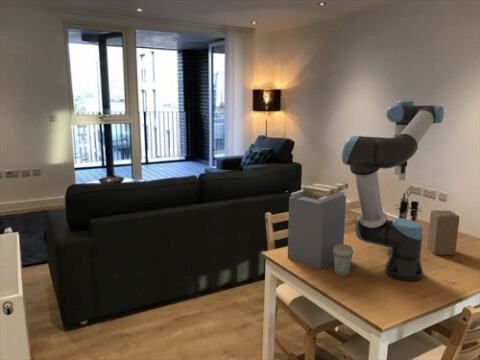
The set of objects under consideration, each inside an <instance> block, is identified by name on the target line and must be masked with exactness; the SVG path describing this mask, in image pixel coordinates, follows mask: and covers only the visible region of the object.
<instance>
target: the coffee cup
mask: <svg viewBox="0 0 480 360" xmlns="http://www.w3.org/2000/svg"><path fill="white" fill-rule="evenodd" d="M333 252H334V262H333V265H334V266H333V267H334V274H335V275H336V276H339V277H347V276H349V274H350V270H351V269H350V268H351V264H352V258H353V254H354V250H353V247H352V246H351V245H348V244H344V243H343V244H338V245H335V246H334V248H333Z"/></svg>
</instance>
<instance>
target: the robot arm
mask: <svg viewBox="0 0 480 360" xmlns="http://www.w3.org/2000/svg"><path fill="white" fill-rule="evenodd" d="M444 111H445V110H444V107H443V105H434V104H432V105H431V104H430V105H428V104H427V105H421V104H420V105H415V102H414V101H412V100H399V101H397V103H396V104H395V105H392V106H390V107H388V109H387V111H386V118H387V120H388V121H390V122H391V123H394V124H395V125H394V135H393V137H382V136H381V137H380V136H364V135H363V136H362V135H352V136H350V137H349V138H347V139H346V140H345V142H344V146H343V148H342V153H341V161H342V163H343V164H344V165H346V166H349V171H350V172H351V173H352V174H353V175H354V177H355V181H356V182H355V183H356V188H357V193H358V194H357V195H358V201H359V205H360V206H359V207H360V212H361V214H360V215H359V216H358V217H357V219H356V222H355V235H356V237H357V239H358V240H360V241H362V242H363V243H367V244H368V243H369V244H373V245H377V246H381V247H386V248H390V253H389V254H390V255H389V257H388V259H387V261H386V264H385V267H384V273H385V274H386V275H388V276H389V277H391V278H393V279H396V280H398V281H399V280H400V281H405V282H416V281H420V280H422V279H423V277H424V269H423V265H422V262H421V252H422V242H423V237H424V236H423V227H422V226H421V224H419V223H418V222H417V221H415V220H411V219H407V218H401V217H397V218H394V219H393V220H389V219H388V216H387V214H386V213H385V212H384V211H383V206H382V199H381V191H380V183H379V182H380V181H379V176H378V171H379V170H380V169H383V170H384V169H385V170H386V169H392V168H394V170H393V175H394V176H398V181H406V172H407V166H408V161H409V160H410V159H411V158H412V157H414V155H416V152H418V151H417V150H418V147H419V146H418V145H419V143H420V141H421V140H422V139H423V137H424V136H425V135H426V134H427V132H428V130H429V129H430V128H431V127H432V125H433V124H435V125H436V124H441V123H443V119H444V113H445V112H444Z"/></svg>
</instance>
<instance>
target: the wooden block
mask: <svg viewBox="0 0 480 360" xmlns="http://www.w3.org/2000/svg"><path fill="white" fill-rule="evenodd" d="M459 224H460V216H459V215H458V214H456V213H455V212H453V211H451V210H437V209H436V210H431V211H430V217H429V228H428V236H427V246H426V247H427V249H428V250H429V251H430V252H431V253H432V254H433V255H435V256H436V255H437V256H455V255H456V250H457V242H458V241H457V240H458V233H459V227H460V226H459Z"/></svg>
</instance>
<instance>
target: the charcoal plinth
mask: <svg viewBox="0 0 480 360" xmlns="http://www.w3.org/2000/svg"><path fill="white" fill-rule="evenodd" d="M346 203H347V196H346V195H345V190H341V191H339V192H337V193H334V194H331V195H328V196H325V197H322V198H319V199H318V198H313V197H308V196H303V189H300V190H297V191H294V192H291V193H290V196H289V197H288V228H287V234H288V235H287V259H289V260H291V261H295V262H298V263H301V264H304V265H307V266H309V267H312V268H316V269H318V270H322V269H324V268H325V267H326V266H329V265H330V264H332V263H334V252H333V248H334V246H335V245H338V244H344V239H345V224H346V222H345V221H346V206H347V204H346Z"/></svg>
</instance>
